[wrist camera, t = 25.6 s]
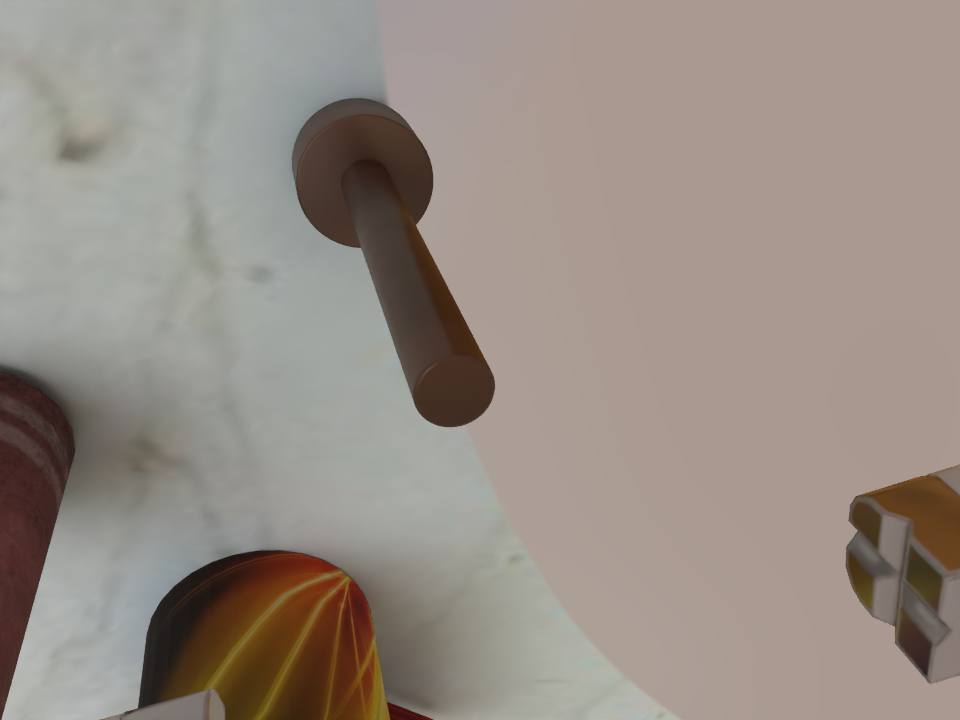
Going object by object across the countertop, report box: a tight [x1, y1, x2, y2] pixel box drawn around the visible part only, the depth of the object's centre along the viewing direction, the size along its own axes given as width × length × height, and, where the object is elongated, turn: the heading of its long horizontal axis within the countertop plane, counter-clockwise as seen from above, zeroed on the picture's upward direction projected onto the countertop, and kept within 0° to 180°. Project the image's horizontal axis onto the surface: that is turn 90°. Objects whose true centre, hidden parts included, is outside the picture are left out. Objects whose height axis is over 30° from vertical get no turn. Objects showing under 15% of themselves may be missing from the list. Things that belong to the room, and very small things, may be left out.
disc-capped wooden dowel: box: [292, 99, 495, 427], centre depth 24 cm, size 4×4×16 cm
